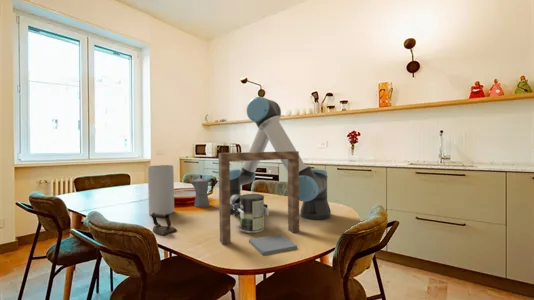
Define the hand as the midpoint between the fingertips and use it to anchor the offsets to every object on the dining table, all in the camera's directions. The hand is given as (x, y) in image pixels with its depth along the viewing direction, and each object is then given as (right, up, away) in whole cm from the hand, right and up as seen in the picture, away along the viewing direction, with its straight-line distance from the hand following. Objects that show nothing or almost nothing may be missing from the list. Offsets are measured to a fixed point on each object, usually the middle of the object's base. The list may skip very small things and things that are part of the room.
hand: (255, 213), depth 110 cm
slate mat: (+6, -8, -14) cm, 17 cm away
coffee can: (-2, -8, +4) cm, 9 cm away
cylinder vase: (-51, -8, +32) cm, 61 cm away
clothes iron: (-40, -8, +2) cm, 41 cm away
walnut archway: (+2, -8, -5) cm, 9 cm away
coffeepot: (-33, -7, +49) cm, 60 cm away
